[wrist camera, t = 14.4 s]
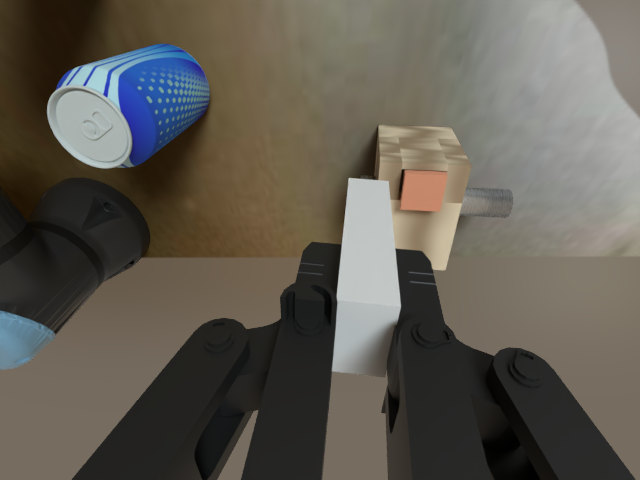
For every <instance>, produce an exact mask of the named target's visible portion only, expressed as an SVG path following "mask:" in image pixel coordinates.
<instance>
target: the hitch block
mask: <svg viewBox="0 0 640 480" xmlns="http://www.w3.org/2000/svg"><path fill="white" fill-rule="evenodd" d="M402 169H408V170H432V171H438V172H446V173H447V175H448V177H447V181H446V186H445V191H444V195H443V200H442V205H441V210H440V212H437V211H419V210H400V201H401V193H402V189H399V186H400V184H403V179H404V177H403V171H402ZM470 170H471V164H470V162H469V160H468V158H467V156H466V155H465V153H464V151H463V149H462V147H461V145H460V143H459V142H458V140H457V138H456V136H455V134H454V132H453V130H452V128H451V127H422V126H389V125H379V127H378V138H377V150H376V161H375V173H374V176H375V180H382V181H389V191H390V201H391V211H392V221H393V231H394V241H395V248H397V249H408V250H419V251H423V253H424V254H425V255H426V256H427V257H428V259H429V260H430V261H431V264H432V269H434V270H446V266H447V262H448V258H449V254H450V250H451V246H452V242H453V238H454V234H455V230H456V226H457V222H458V218H459V214H460V210H461V206H462V202H463V198H464V194H465V190H466V186H467V182H468V178H469V174H470Z"/></svg>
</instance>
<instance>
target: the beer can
mask: <svg viewBox="0 0 640 480" xmlns="http://www.w3.org/2000/svg"><path fill="white" fill-rule="evenodd" d="M209 98H210V91H209V84H208V81H207V78H206V75H205V73H204V71H203V70H202V68H201V66H200V65H199V64H198V62H197V61H196V60H195V59H194V58H193V57H192V56H191V55H190V54H188V53H187V52H186V51H184V50H182V49H181V48H179V47H176V46H173V45H169V44H156V45H152V46H149V47H145V48H142V49H138V50H135V51H131V52H128V53H124V54H121V55H117V56H114V57H110V58H107V59H103V60H100V61H97V62H93V63H90V64H86V65H83V66H79V67H76V68H74V69H72V70H70V71H68V72H67V73H66V74H65V75H64V76H63V77H62V78H61V80H60V81H59V83H58V85H57V88H56V91H55V92H54V93H53V94H52V95H51V97H50V99H49V101H48V105H47V116H48V121H49V124H50V127H51V129H52V131H53V133H54V135H55V137H56V138H57V140H58V141H59V142H60V144H61V145H62V146H63V147H64V148H65V149H66V150H67V151H68V152H69V153H70V154H71V155H73V156H74V157H75V158H77V159H78V160H80V161H82V162H83V163H85V164H88V165H90V166H93V167H97V168H114V167H119V168H127V167H134V166H137V165H139V164H141V163H143V162H145V161H146V160H147V159H149V158H150V157H151V156H152V155H154V154H155V153H156V152H157V151H159V150H160V149H161V148H163V147H164V146H165V145H166V144H168V143H169V142H170V141H171V140H173V139H174V138H175V137H177V136H178V135H179V134H180V133H182V132H183V131H184V130H185V129H187V128H188V127H189V126H191V125H192V124H193V123H194V122H196V121H197V120H198V119H199V118H201V117H202V116H203V114H204V113H205V111H206V109H207V107H208V104H209Z"/></svg>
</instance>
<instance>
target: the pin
mask: <svg viewBox="0 0 640 480" xmlns="http://www.w3.org/2000/svg"><path fill="white" fill-rule="evenodd" d="M360 179H369V180H375V176H369V175H360ZM402 186H403V184H400V186H399V189H402ZM512 204H513V196H512V192H511V191H510V190H509V189H488V188H467V187H466V190H465V194H464V198H463V202H462V206H461V210H460V214H459V215H463V216H482V217H500V218H506V217H508V216H509V214H510V212H511V209H512Z"/></svg>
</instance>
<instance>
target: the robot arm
mask: <svg viewBox="0 0 640 480" xmlns="http://www.w3.org/2000/svg"><path fill="white" fill-rule="evenodd" d="M149 240H150V237H149V230H148V227H147V224H146V222H145V220H144V218H143V216H142V215H141V213H140V212H139V210H138V209H137V208H136V207H135V206H134V204H133V203H132V202H131V201H130V200H129V199H127V198H126V197H125V196H124V195H122V194H121V193H120V192H118V191H117V190H115V189H114V188H112V187H110V186H108V185H106V184H104V183H101V182H98V181H95V180H92V179H87V178H70V179H66V180H63V181H61V182H59V183H58V184H56V185H55V186H53V187H52V188H50V189H49V190H47V191H46V192H45V193H44V194H43V196H42V197H41V199H40V201H39V203H38V205H37V206H36V208H35V209H34V210H33V212H32V213H31V215H30V216H29V218H28V219H27V220H26V219H25V218H24V217H23V215H22V214H21V213H20V211H19V210H18V209H17V207H16V206H15V205H14V204H13V202H12V201H11V200H10V198H9V197H8V196H7V194H6V193H5V192H4V191H3V189H2V188H1V187H0V370H4V369H12V368H16V367H19V366H22V365H24V364H26V363H28V362H29V361H30V360H32V358H34V357H35V355H37V354H38V353H39V352H40V351H41V350H42V349H43V348H44V347H45V346H46V345H47V344H48V343H49V342H52V341H53V340H54V339H55V336H56V334H57V333H58V332H59V331H60V330H61V329H62V328H63V327H64V325H65V324H66V323H67V322H68V321H69V320H70V319H71V318H72V316H73V315H74V314H75V313H76V312H77V311H78V310H79V308H80V307H81V306H82V305H83V304H84V303H85V302H86V301H87V299H88V298H89V297H90V296H91V295H92V294H93V293H94V292H95V290H96V289H97V288H98V287H99V286H100V285H101V284H102V283H103V282H104V281H106V280H108V279H110V278H112V277H114V276H116V275H117V274H119V273H121V272H123V271H125V270H127V269H129V268H130V267H132V266H133V265H135V264H136V263H137V262H138V261H139V260H140V258H141V257H142V256H143V255H144V254H145V252H146V251H147V249H148V246H149ZM435 283H436V282H435V278H434V275H433V269H432V264H431V261H430V260H429V259H428V257H427V256H426V255H425V254H424V253H423V251H419V250H408V249H397V248H395V241H394V231H393V221H392V211H391V201H390V191H389V181H382V180H369V179H356V178H349V181H348V191H347V201H346V210H345V220H344V230H343V239H342V245H340V244H329V243H318V242H311V243H310V244H309V245H308V246H307V247H306V248H305V250H304V251H303V254H302V258H301V262H300V266H299V270H298V274H297V278H296V282H295V283H294V284H292V285H290V286H289V287H287V288H286V289H285V290H284V292H283V293H282V295H281V297H280V302H281V319H280V320H279V321H277V322H275V323H273V324H271V325H267V326H264V327H258V328H252V329H246V328H245V327H244V326H243V324H241V323H240V322H238V321H236V320H234V319H227V318H221V319H215V320H211V321H209V322H207V323H205V324H203V325H201V326H200V327H199V328H198V329H197V330H196V331H195V332H194V333H193V334H192V335H191V337H190V338H189V339H188V340H187V341H186V343H185V344H184V345H183V346H182V347H181V348H180V350H179V351H178V352H177V353H176V355H175V356H174V357H173V358H172V359H171V360H170V362H169V363H168V364H167V365H166V367H165V368H164V369H163V370H162V371H161V373H160V374H159V375H158V376H157V377H156V379H155V380H154V381H153V382H152V384H151V385H150V386H149V387H148V388H147V389H146V391H145V392H144V393H143V394H142V395H141V397H140V398H139V399H138V400H137V401H136V403H135V404H134V405H133V406H132V408H131V409H130V410H129V411H128V412H127V414H126V415H125V416H124V417H123V418H122V420H121V421H120V422H119V423H118V424H117V426H116V427H115V428H114V429H113V430H112V432H111V433H110V434H109V435H108V436H107V438H106V439H105V440H104V441H103V442H102V444H101V445H100V446H99V447H98V448H97V450H96V451H95V452H94V453H93V455H92V456H91V457H90V458H89V459H88V461H87V462H86V463H85V464H84V465H83V467H82V468H81V469H80V470H79V471H78V473H77V474H76V475H75V476H74V478H73V479H72V480H217V479H218V477H219V475H220V473H221V471H222V469H223V468H224V466H225V464H226V462H227V460H228V458H229V456H230V454H231V453H232V451H233V449H234V447H235V445H236V443H237V441H238V439H239V437H240V436H241V434H242V432H243V430H244V428H245V426H246V424H247V423H248V421H249V419H250V417H251V415H252V413H253V411H255V410H259V411H258V416H257V419H256V423H255V427H254V431H253V435H252V439H251V442H250V447H249V451H248V454H247V458H246V462H245V467H244V470H243V474H242V478H241V480H322V475H323V464H324V453H325V442H326V432H327V420H328V410H329V398H330V388H331V376H332V371H334V372H343V373H352V374H360V375H369V376H378V377H385V375H386V370H387V376H388V385H387V389H386V394H385V398H384V402H383V406H382V413H386V434H387V460H388V461H387V462H388V480H635V478H634V477H633V476H632V474H631V473H630V472H629V470H628V469H627V468H626V466H625V465H624V463H623V462H622V461H621V459H620V458H619V457H618V455H617V454H616V453H615V451H614V450H613V449H612V447H611V446H610V445H609V443H608V442H607V441H606V439H605V438H604V437H603V435H602V434H601V433H600V431H599V430H598V429H597V427H596V426H595V425H594V423H593V422H592V421H591V419H590V418H589V417H588V415H587V414H586V413H585V411H584V410H583V408H582V407H581V406H580V404H579V403H578V402H577V400H576V399H575V398H574V396H573V395H572V394H571V392H570V391H569V390H568V388H567V387H566V386H565V384H564V383H563V382H562V380H561V379H560V378H559V376H558V375H557V374H556V372H555V371H554V370H553V369H552V368H551V367H550V365H549V364H548V363H547V362H546V361H545V360H543V359H542V358H540V357H539V356H537V355H535V354H534V353H532V352H529V351H526V350H523V349H521V348H506V349H502V350H500V351H499V352H498V353H497V354H496V355H495V356H493V355H490V354H487V353H484V352H482V351H479V350H476V349H473V348H471V347H469V346H467V345H465V344H463V343H462V342H460V341H459V340H457V339H456V337H455V335H454V333H453V331H452V330H451V329H450V328H449V327H448V326H447V325H446V324H445V322H444V318H443V314H442V309H441V305H440V300H439V296H438V291H437V287H436V285H435Z"/></svg>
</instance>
